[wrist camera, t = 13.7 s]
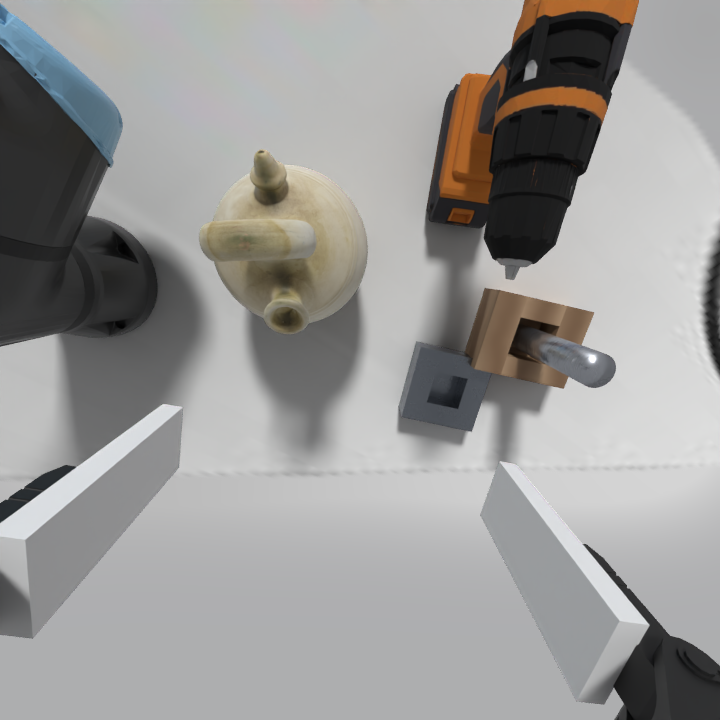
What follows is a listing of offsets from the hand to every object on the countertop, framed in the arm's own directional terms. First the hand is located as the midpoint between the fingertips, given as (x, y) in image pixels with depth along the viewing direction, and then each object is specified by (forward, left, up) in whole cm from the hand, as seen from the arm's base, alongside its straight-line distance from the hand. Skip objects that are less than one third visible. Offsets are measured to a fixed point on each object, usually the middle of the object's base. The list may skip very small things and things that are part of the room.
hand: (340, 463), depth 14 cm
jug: (-8, +8, -34) cm, 36 cm away
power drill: (+9, +20, -34) cm, 40 cm away
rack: (+22, +4, -33) cm, 40 cm away
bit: (+22, +4, -32) cm, 39 cm away
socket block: (+14, -5, -33) cm, 37 cm away
